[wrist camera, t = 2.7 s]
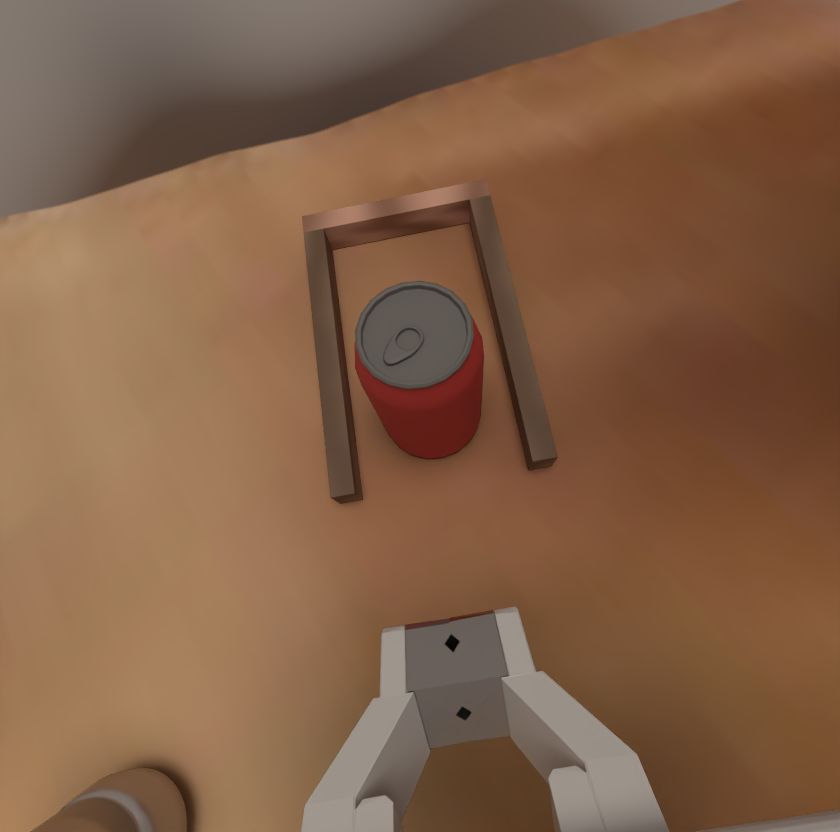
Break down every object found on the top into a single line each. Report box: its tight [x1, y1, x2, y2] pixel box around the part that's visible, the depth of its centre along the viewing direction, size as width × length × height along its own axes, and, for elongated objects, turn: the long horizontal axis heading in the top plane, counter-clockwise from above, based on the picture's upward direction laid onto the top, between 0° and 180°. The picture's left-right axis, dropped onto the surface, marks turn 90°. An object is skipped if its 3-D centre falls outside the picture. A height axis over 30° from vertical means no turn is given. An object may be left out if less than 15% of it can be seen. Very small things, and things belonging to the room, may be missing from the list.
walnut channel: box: [302, 179, 557, 504], centre depth 35 cm, size 14×22×2 cm, turn 10°
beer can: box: [355, 281, 484, 459], centre depth 29 cm, size 7×7×12 cm
